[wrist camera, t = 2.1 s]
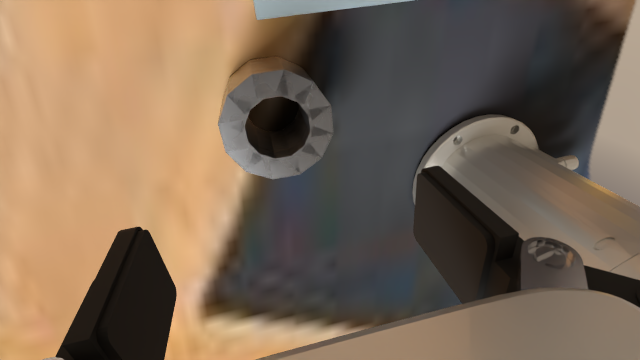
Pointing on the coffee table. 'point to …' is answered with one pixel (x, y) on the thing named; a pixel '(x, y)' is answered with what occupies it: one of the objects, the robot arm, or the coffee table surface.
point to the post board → (308, 6)
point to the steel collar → (282, 145)
